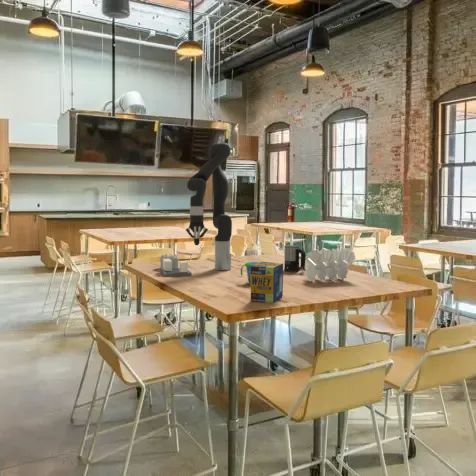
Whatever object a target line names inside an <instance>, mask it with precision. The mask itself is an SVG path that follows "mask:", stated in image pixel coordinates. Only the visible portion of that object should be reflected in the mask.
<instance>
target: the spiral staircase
mask: <svg viewBox="0 0 476 476" xmlns="http://www.w3.org/2000/svg"><path fill="white" fill-rule="evenodd" d="M307 253H308V254H307V255H306V260H305V270H304V271H305V275H306V278H307V279H308V280H309V281H310V282H311V281H315V280H316V277H317V278H318V279H319V280H320V281H321V280H322V281H325V280H326V276H327V278H328V280H329V279H330V280H331V281H332V280H334V281H335V280H336V279H337V278H338V279H341V281H344V279H347V278H348V277H347V276H348V275H347V274H349V271H348V267H350V266H351V265H350V264H351V262H353V261H355V260H356V255H355V252H354V251H352V250H351V249H350V247H347V248H345V247H342V249H339V248H338V247H336V248H331V249H330V248H325V247H322V249H321V250H319V248H316V249H315V248H312V249H311V250H310V251H308V252H307ZM337 276H338V277H337Z"/></svg>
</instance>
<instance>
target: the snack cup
mask: <svg viewBox="0 0 476 476" xmlns="http://www.w3.org/2000/svg"><path fill="white" fill-rule="evenodd" d="M258 263H260V261H251V262H245V264H243V265H242V266H241V267H240V276H241V277H242V276H243V275H244V274H243V269H244V267H246V276H247V282H248V283H249V284H251V266H253V265H255V264H258Z"/></svg>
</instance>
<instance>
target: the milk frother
mask: <svg viewBox="0 0 476 476" xmlns="http://www.w3.org/2000/svg"><path fill="white" fill-rule="evenodd" d="M283 247H284V265H283V272H284V271H285V272H298V271H300V270H301V269H305V263H306V259H307V255H306V251H305V250H304V249H303V248H300V245H296V244H295V245H293V244H291V245H289V244H288V245H283Z"/></svg>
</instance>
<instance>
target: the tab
mask: <svg viewBox="0 0 476 476" xmlns="http://www.w3.org/2000/svg"><path fill="white" fill-rule="evenodd" d="M188 267H189V263H188V261H183V260H182V261H179V268H180V272H188V270H189V268H188Z"/></svg>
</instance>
